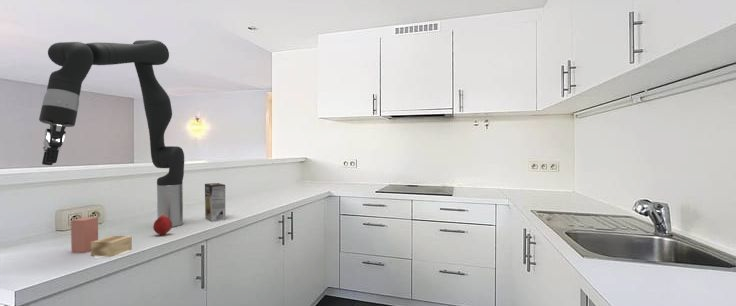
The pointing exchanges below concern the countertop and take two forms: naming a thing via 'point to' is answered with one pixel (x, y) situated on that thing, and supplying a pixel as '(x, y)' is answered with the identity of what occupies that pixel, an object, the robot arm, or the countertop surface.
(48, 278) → the countertop surface
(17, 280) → the countertop surface
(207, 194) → the coffee box
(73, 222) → the red pillar block
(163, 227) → the onion
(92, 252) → the oak base block
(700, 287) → the countertop surface
